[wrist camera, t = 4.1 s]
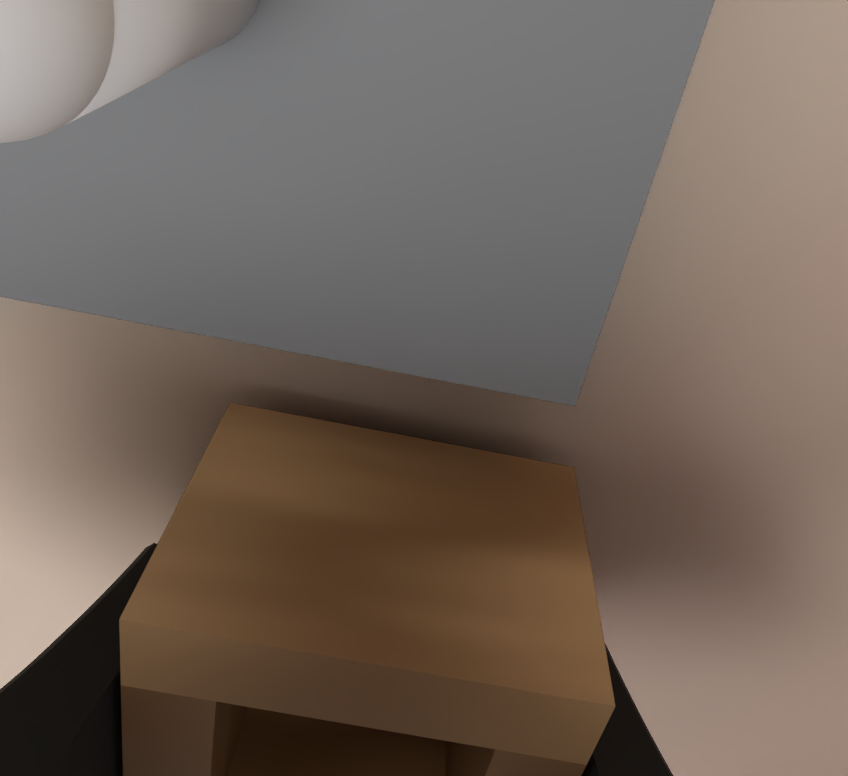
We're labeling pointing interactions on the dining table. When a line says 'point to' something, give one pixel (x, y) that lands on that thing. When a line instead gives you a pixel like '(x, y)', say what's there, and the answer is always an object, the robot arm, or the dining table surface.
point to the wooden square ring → (364, 612)
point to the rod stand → (341, 171)
